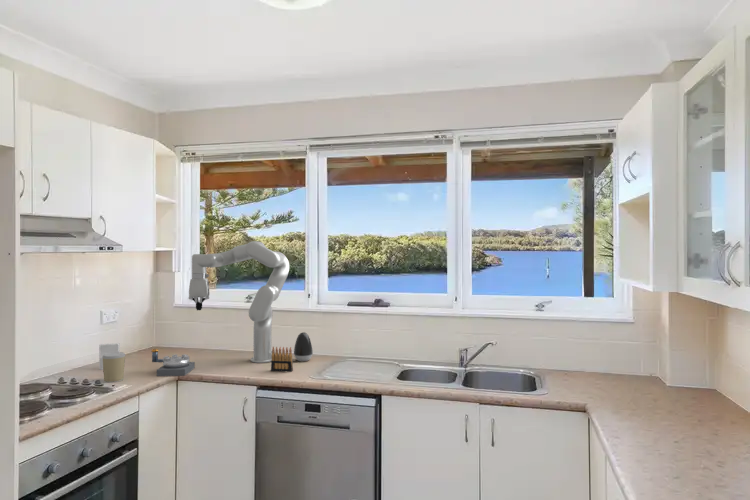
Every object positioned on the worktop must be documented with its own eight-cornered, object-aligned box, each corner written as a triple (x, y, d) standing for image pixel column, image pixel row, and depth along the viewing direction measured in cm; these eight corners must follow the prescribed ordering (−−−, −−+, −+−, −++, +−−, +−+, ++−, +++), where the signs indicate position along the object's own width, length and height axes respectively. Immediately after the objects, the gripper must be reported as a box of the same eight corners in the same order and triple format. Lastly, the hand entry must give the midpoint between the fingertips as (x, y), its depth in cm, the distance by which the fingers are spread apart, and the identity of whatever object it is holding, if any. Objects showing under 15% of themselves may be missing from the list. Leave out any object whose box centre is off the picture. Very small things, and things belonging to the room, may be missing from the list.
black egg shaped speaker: (313, 358, 272) (314, 330, 272) (311, 362, 261) (311, 334, 261) (295, 358, 272) (295, 330, 272) (292, 362, 262) (292, 333, 262)
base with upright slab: (120, 365, 255) (120, 342, 255) (117, 369, 246) (117, 345, 246) (101, 366, 252) (101, 343, 252) (97, 370, 243) (97, 346, 243)
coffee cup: (129, 378, 228) (129, 352, 228) (113, 383, 219) (113, 356, 219) (114, 376, 231) (114, 351, 231) (97, 381, 222) (97, 355, 222)
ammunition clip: (270, 371, 243) (270, 346, 243) (272, 370, 245) (272, 346, 245) (291, 371, 241) (291, 347, 241) (292, 370, 243) (292, 346, 243)
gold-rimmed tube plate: (193, 362, 247) (193, 347, 247) (183, 368, 235) (183, 351, 235) (157, 362, 247) (157, 347, 247) (146, 368, 235) (146, 351, 235)
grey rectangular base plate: (194, 367, 249) (194, 361, 249) (184, 375, 233) (184, 368, 233) (168, 368, 248) (168, 361, 248) (156, 376, 232) (156, 369, 232)
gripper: (214, 276, 273) (214, 309, 272) (187, 276, 271) (187, 309, 271) (211, 276, 265) (211, 310, 265) (182, 277, 264) (182, 311, 264)
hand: (199, 310), depth 268 cm, fingers closed
